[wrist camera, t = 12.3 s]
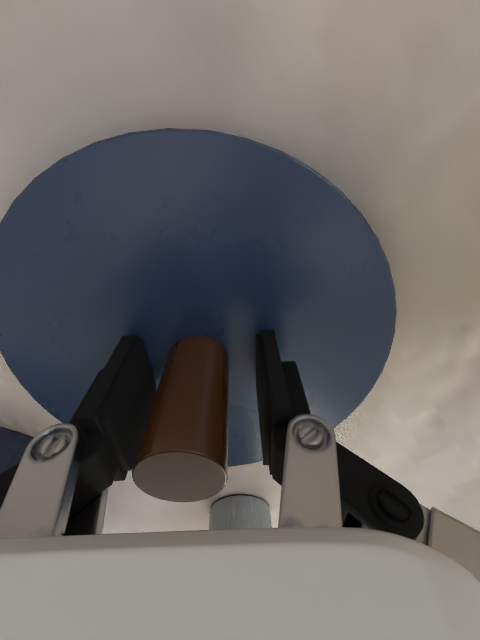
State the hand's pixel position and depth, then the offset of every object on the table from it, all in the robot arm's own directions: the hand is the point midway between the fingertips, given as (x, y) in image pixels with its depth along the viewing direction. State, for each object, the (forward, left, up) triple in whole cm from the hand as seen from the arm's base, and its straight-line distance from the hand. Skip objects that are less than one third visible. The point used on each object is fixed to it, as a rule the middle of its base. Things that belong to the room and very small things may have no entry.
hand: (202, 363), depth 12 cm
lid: (0, 0, -1) cm, 1 cm away
